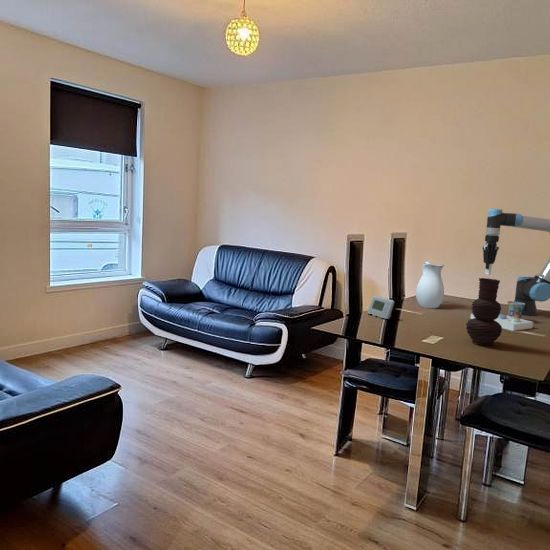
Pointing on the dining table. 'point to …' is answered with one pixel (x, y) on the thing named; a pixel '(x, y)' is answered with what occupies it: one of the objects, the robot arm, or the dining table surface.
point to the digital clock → (381, 307)
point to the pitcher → (430, 286)
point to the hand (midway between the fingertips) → (487, 274)
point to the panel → (512, 323)
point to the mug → (515, 309)
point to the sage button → (515, 320)
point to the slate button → (502, 317)
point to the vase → (485, 314)
